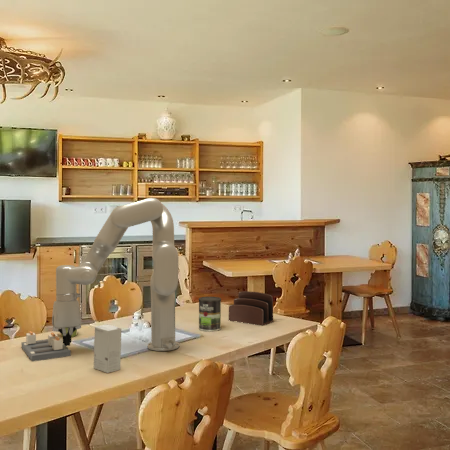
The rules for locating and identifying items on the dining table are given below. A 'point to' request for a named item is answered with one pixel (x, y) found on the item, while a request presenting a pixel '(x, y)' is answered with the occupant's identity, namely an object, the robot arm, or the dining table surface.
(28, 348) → the switch bank
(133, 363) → the dining table surface
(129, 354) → the dining table surface
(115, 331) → the skincare box
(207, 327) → the coffee can
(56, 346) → the tab
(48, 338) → the tab
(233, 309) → the letter holder
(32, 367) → the dining table surface
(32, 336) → the tab
